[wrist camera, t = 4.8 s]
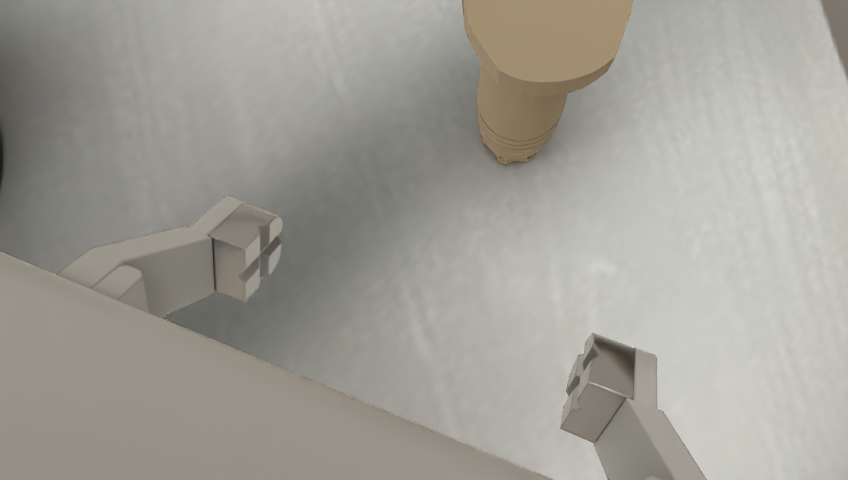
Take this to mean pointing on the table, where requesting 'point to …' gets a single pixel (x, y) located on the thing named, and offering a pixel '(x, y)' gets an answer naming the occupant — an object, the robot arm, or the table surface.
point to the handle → (537, 64)
